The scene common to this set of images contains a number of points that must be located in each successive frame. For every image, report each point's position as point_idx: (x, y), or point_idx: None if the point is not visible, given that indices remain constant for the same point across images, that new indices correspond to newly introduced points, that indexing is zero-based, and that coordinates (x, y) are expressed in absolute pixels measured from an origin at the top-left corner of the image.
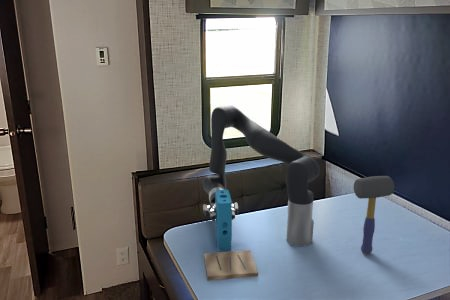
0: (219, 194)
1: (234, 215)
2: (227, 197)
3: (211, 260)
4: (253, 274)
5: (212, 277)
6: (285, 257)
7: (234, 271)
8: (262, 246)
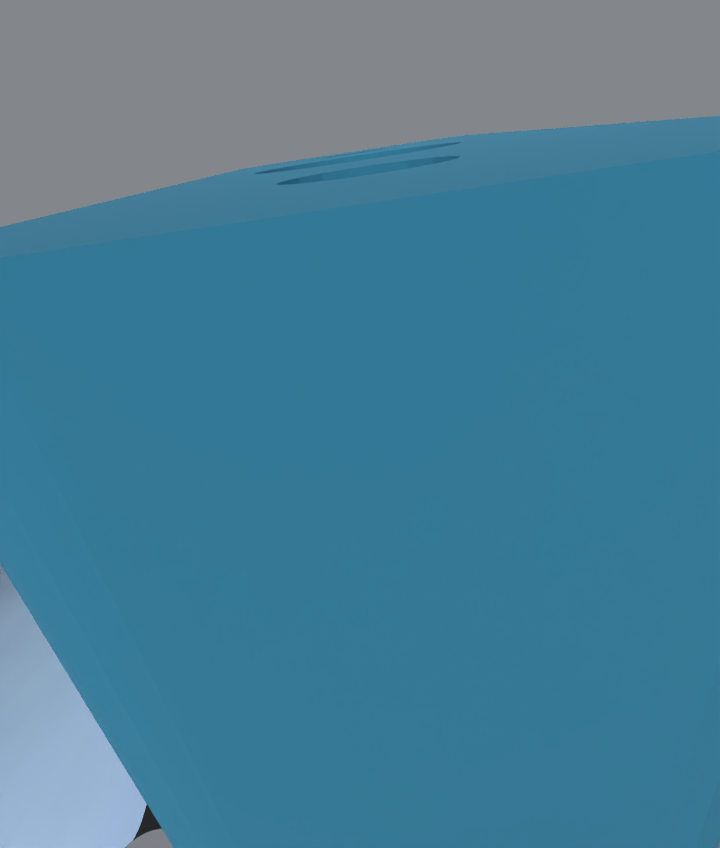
0: (478, 143)
1: None
2: (266, 169)
3: None
4: None
5: None
6: (4, 637)
7: None
8: (50, 800)
